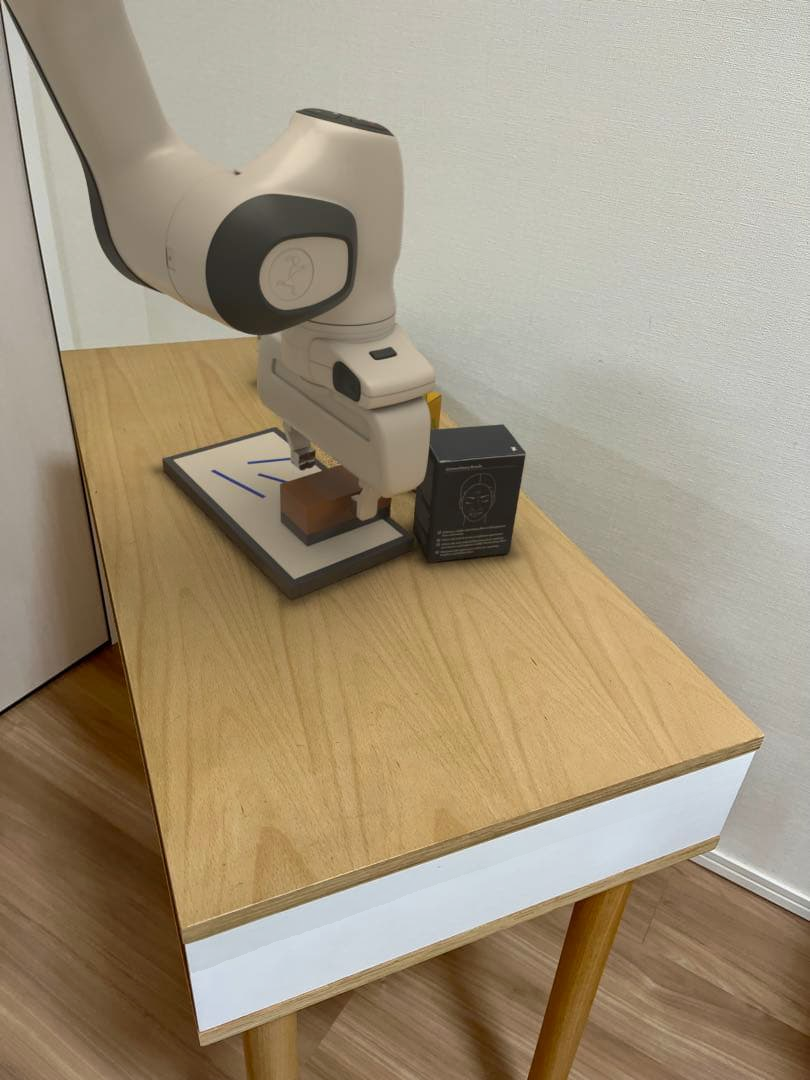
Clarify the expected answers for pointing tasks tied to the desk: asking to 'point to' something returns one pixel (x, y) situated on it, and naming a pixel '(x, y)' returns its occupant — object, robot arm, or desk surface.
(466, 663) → the desk surface
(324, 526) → the eraser
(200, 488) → the whiteboard
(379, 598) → the desk surface
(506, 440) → the box
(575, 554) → the desk surface
